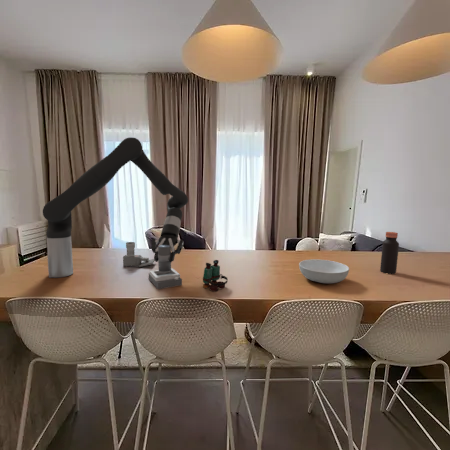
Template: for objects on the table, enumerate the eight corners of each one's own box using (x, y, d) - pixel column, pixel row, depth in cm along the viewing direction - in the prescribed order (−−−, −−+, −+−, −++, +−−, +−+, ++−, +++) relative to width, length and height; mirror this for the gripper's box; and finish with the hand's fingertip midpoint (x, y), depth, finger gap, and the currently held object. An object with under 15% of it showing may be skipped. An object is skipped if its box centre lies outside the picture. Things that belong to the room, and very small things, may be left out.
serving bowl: (289, 275, 126) (289, 261, 125) (325, 271, 134) (326, 257, 133) (319, 291, 107) (320, 274, 106) (359, 285, 114) (360, 269, 113)
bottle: (396, 271, 135) (400, 232, 132) (395, 275, 129) (400, 234, 126) (380, 269, 138) (384, 231, 136) (379, 272, 133) (383, 232, 130)
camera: (126, 241, 140) (155, 241, 141) (127, 263, 142) (155, 263, 142) (120, 244, 132) (151, 245, 132) (121, 267, 133) (151, 268, 134)
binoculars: (219, 269, 100) (200, 262, 106) (216, 295, 102) (198, 287, 108) (234, 264, 107) (215, 257, 113) (231, 289, 109) (213, 281, 115)
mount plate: (157, 289, 105) (157, 279, 105) (148, 278, 117) (148, 269, 117) (181, 285, 110) (181, 275, 110) (170, 275, 122) (170, 266, 122)
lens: (160, 272, 110) (159, 247, 108) (156, 268, 114) (156, 245, 113) (173, 270, 112) (172, 246, 111) (169, 267, 117) (168, 244, 116)
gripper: (153, 222, 119) (143, 255, 109) (185, 223, 118) (178, 257, 107) (157, 232, 125) (148, 265, 115) (188, 233, 124) (182, 266, 113)
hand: (163, 261), depth 111 cm, fingers closed on lens, 5 cm apart
